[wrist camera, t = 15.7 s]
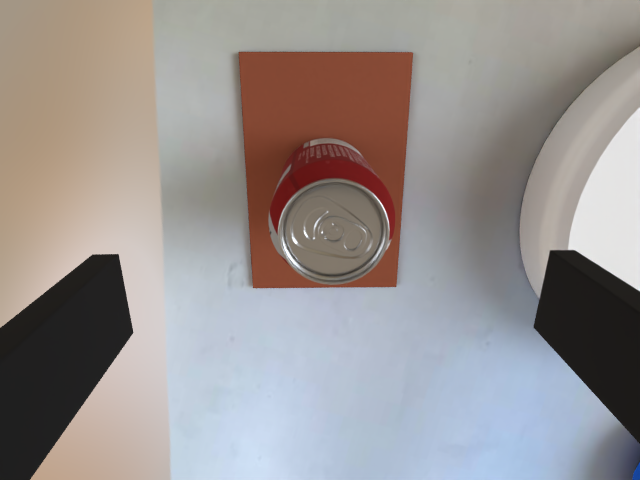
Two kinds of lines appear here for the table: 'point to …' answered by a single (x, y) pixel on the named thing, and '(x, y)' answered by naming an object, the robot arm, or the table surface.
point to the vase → (637, 473)
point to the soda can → (330, 213)
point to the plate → (589, 181)
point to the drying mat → (321, 122)
